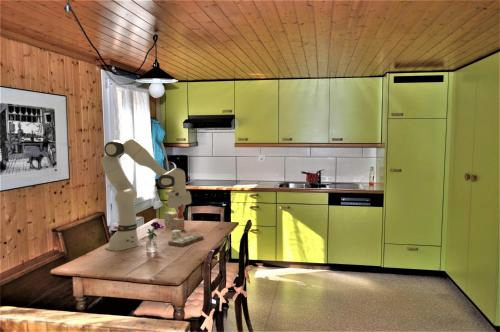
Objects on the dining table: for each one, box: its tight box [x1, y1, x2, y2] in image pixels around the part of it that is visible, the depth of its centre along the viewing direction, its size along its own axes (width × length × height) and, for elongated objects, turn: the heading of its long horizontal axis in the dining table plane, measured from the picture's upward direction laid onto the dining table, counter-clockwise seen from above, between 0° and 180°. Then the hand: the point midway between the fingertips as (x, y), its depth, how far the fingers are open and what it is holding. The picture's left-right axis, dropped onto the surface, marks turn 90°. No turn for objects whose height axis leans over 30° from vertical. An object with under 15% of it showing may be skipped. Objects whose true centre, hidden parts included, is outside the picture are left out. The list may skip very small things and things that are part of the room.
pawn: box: [177, 204, 185, 219], centre depth 266 cm, size 4×4×11 cm
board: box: [167, 233, 204, 247], centre depth 273 cm, size 23×12×2 cm, turn 148°
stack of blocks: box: [163, 211, 185, 232], centre depth 311 cm, size 21×6×12 cm, turn 39°
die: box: [170, 230, 182, 239], centre depth 284 cm, size 5×5×5 cm
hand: (180, 212), depth 266 cm, fingers closed on pawn, 3 cm apart
